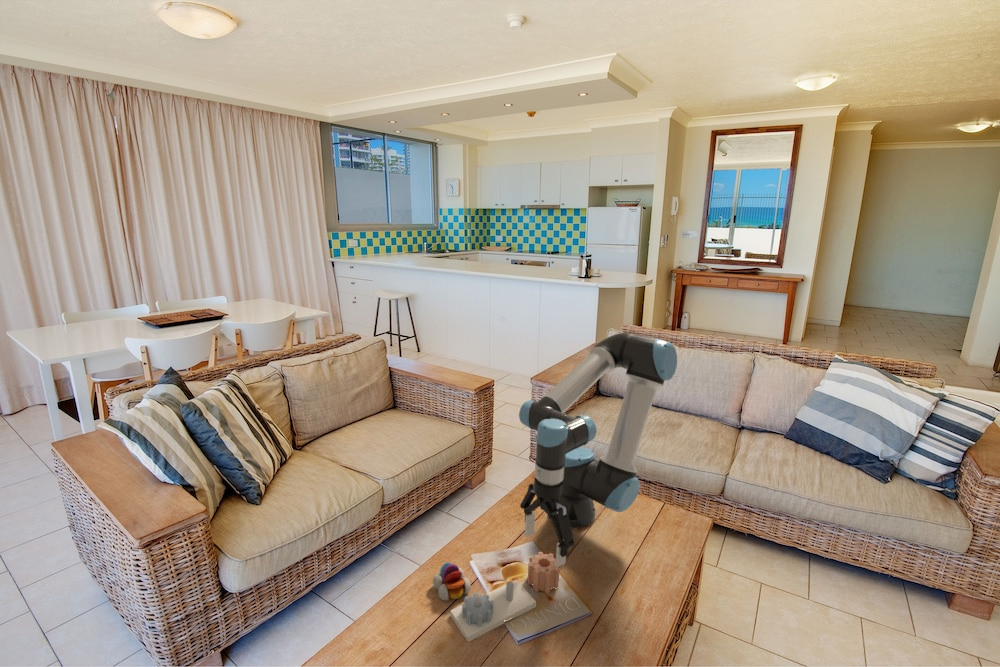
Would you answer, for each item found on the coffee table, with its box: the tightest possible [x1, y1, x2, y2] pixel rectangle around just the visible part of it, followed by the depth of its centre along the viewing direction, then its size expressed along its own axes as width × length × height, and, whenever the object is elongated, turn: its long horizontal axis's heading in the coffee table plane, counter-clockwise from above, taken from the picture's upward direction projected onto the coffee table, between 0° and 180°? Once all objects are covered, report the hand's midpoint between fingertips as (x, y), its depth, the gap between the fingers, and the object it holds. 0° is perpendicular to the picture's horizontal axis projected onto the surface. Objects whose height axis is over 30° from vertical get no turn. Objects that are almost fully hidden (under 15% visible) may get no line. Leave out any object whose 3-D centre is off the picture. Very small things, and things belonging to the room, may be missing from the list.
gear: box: [527, 551, 561, 594], centre depth 130 cm, size 8×8×6 cm
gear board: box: [449, 579, 537, 643], centre depth 120 cm, size 9×20×6 cm, turn 123°
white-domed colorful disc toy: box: [432, 561, 471, 601], centre depth 127 cm, size 8×10×7 cm
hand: (544, 549), depth 128 cm, fingers open, 13 cm apart
